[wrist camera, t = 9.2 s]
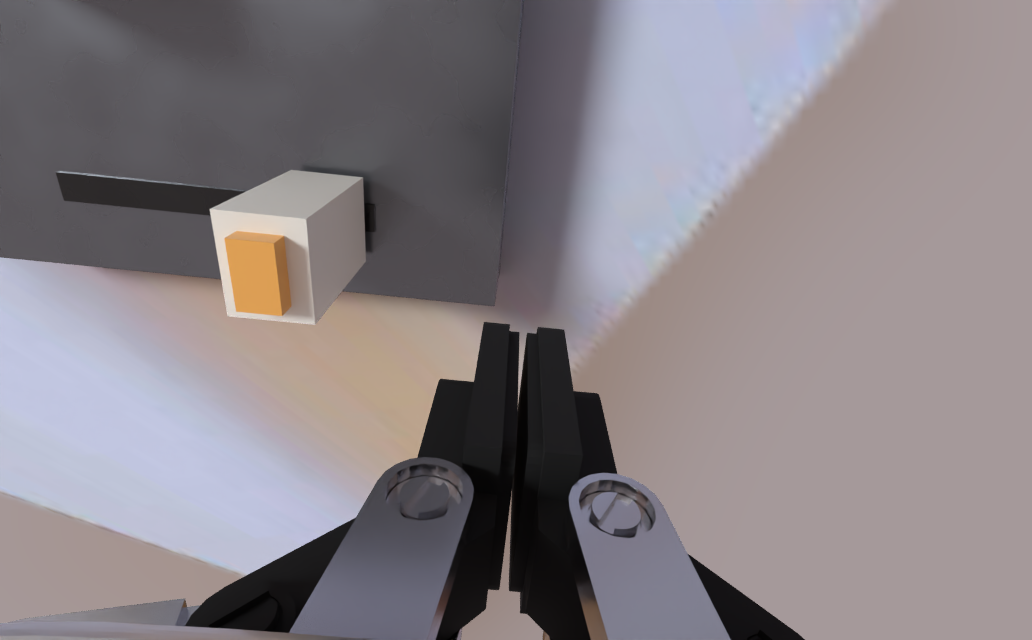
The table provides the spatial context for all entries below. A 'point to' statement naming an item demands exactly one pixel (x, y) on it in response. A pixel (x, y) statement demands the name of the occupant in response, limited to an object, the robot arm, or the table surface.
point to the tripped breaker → (290, 245)
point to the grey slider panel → (258, 129)
